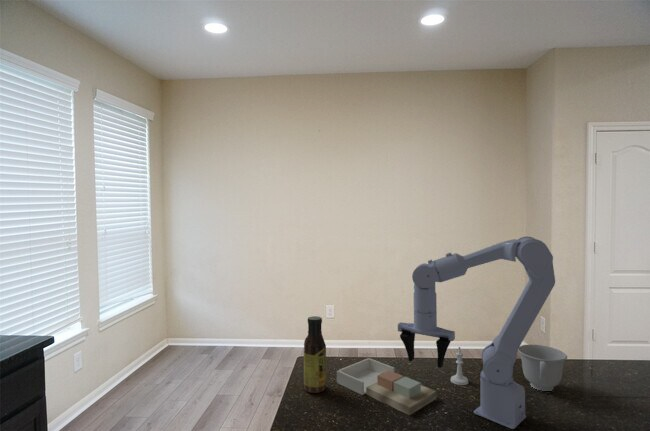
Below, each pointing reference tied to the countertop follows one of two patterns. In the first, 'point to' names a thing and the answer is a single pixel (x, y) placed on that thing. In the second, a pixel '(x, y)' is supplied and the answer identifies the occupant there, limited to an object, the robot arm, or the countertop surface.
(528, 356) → the teacup
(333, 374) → the countertop surface
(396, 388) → the tile sage
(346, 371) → the tray
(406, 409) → the board
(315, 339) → the sauce bottle
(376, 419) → the countertop surface
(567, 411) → the countertop surface
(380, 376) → the tile terracotta
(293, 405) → the countertop surface
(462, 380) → the chess piece
